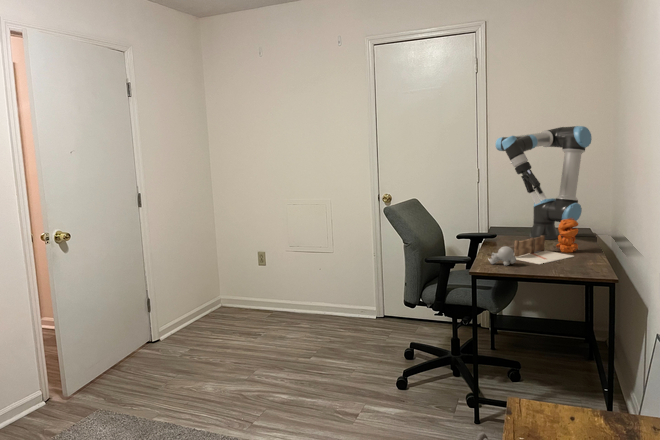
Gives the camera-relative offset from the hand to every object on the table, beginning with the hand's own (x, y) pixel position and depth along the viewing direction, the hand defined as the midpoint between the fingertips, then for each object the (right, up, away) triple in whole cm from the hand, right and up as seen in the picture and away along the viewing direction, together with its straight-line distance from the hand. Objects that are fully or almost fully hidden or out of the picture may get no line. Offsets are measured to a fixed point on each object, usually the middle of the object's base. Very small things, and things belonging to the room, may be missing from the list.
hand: (540, 201), depth 254 cm
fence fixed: (-1, -26, +3) cm, 26 cm away
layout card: (-4, -27, -5) cm, 28 cm away
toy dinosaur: (+16, -26, +5) cm, 30 cm away
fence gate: (-11, -26, -4) cm, 29 cm away
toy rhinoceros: (-26, -30, -19) cm, 44 cm away
